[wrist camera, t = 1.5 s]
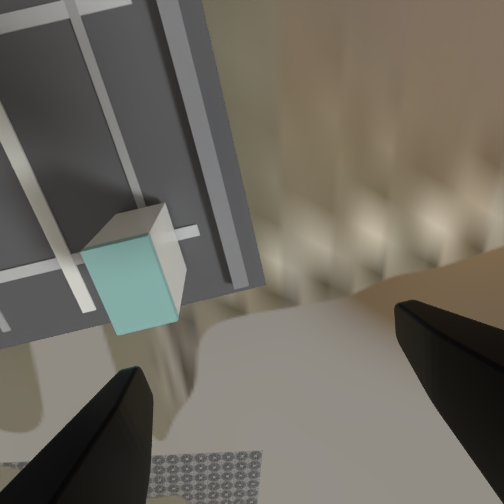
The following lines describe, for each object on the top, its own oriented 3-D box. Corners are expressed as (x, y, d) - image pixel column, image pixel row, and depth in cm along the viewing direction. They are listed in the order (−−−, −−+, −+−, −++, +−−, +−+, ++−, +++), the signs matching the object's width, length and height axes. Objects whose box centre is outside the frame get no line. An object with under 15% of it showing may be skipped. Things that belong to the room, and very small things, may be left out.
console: (170, -130, 14) (162, -170, 12) (262, 273, 21) (267, 290, 19) (-312, -21, 13) (-400, -42, 12) (-54, 349, 20) (-82, 374, 19)
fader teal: (165, 202, 17) (147, 235, 12) (186, 269, 18) (177, 321, 14) (115, 213, 17) (80, 252, 12) (141, 280, 18) (117, 335, 14)
